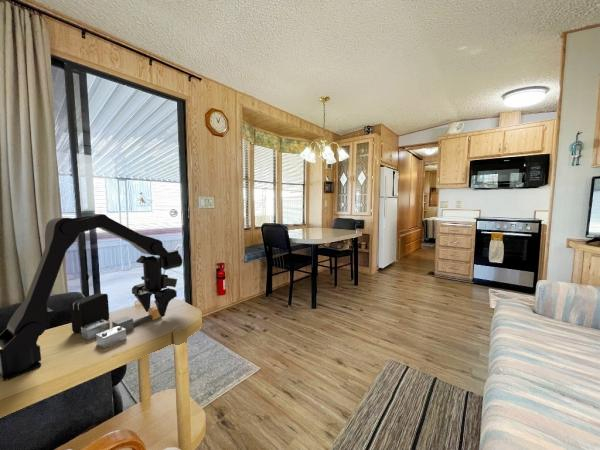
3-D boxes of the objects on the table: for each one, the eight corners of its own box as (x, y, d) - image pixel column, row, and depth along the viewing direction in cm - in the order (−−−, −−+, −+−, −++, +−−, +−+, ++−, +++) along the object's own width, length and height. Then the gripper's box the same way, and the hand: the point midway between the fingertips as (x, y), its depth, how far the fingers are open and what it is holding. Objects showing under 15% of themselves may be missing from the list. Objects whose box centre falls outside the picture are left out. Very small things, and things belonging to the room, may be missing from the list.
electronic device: (109, 319, 92) (107, 293, 91) (83, 333, 82) (81, 303, 81) (99, 319, 92) (97, 292, 92) (72, 333, 83) (69, 303, 82)
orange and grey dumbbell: (114, 336, 80) (113, 325, 80) (108, 333, 82) (107, 323, 82) (162, 316, 94) (161, 307, 94) (155, 314, 96) (155, 305, 95)
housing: (104, 348, 73) (103, 336, 73) (81, 336, 80) (80, 325, 80) (126, 338, 78) (125, 327, 78) (103, 328, 85) (102, 318, 85)
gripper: (188, 270, 95) (190, 310, 96) (158, 265, 104) (160, 302, 105) (160, 278, 85) (162, 322, 86) (129, 271, 94) (132, 312, 95)
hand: (155, 314), depth 94 cm, fingers open, 9 cm apart
